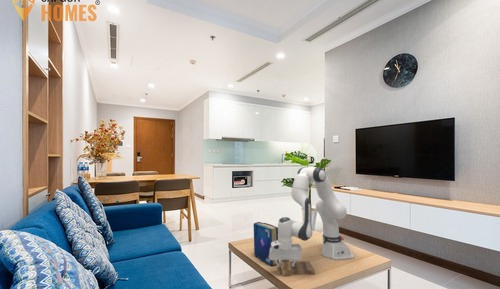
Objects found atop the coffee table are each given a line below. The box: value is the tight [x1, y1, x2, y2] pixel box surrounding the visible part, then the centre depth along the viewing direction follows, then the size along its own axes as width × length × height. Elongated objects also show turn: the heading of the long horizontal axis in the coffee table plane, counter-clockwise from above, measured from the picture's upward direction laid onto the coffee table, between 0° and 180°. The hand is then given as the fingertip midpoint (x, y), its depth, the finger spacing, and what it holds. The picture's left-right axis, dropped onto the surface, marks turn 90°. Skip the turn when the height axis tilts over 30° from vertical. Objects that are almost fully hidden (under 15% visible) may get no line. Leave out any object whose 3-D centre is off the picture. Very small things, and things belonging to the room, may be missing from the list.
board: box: [276, 260, 315, 276], centre depth 151 cm, size 22×12×2 cm, turn 91°
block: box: [280, 260, 291, 277], centre depth 147 cm, size 5×8×7 cm, turn 1°
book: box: [253, 221, 280, 267], centre depth 166 cm, size 22×7×25 cm, turn 35°
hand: (285, 266), depth 147 cm, fingers open, 8 cm apart
